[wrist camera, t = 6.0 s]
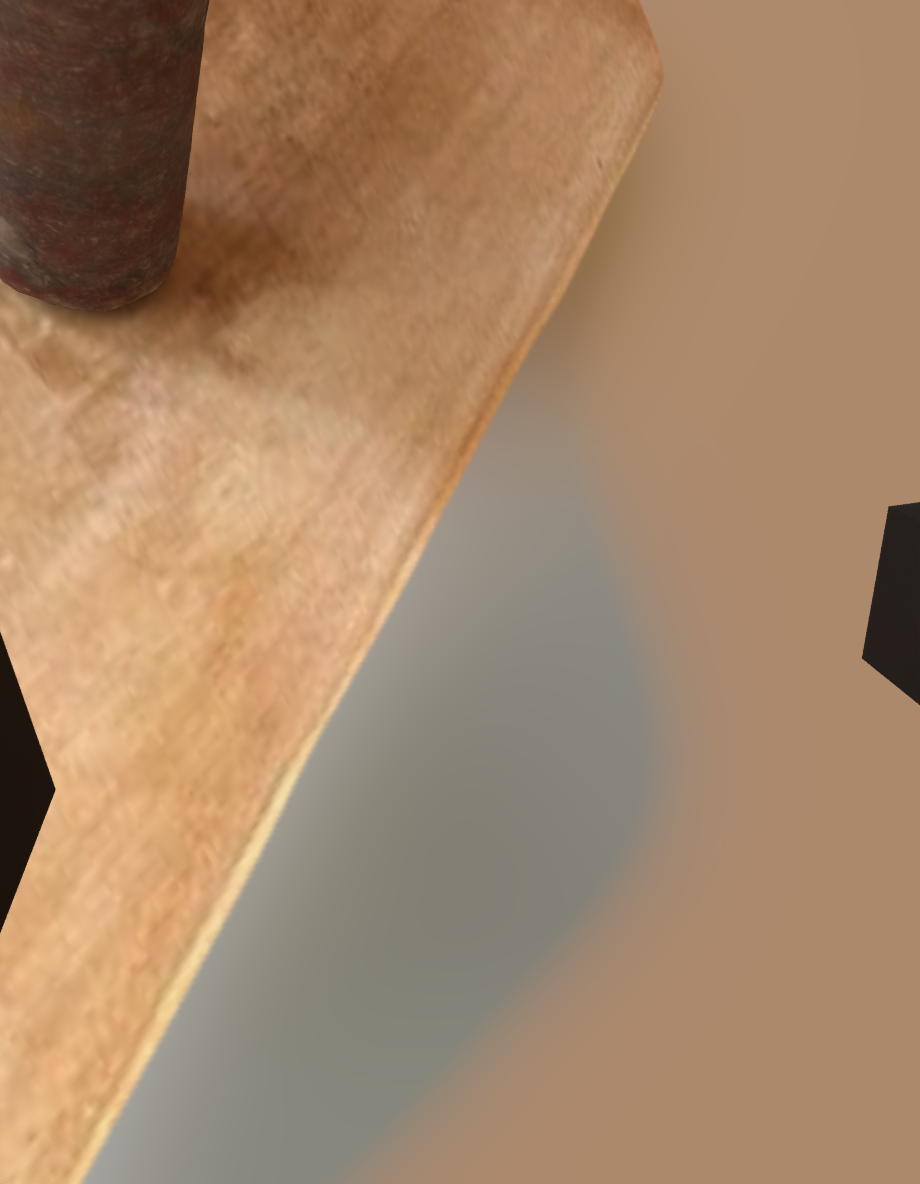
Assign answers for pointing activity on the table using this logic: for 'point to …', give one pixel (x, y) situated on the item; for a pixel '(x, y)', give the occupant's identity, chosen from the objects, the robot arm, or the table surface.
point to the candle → (95, 144)
